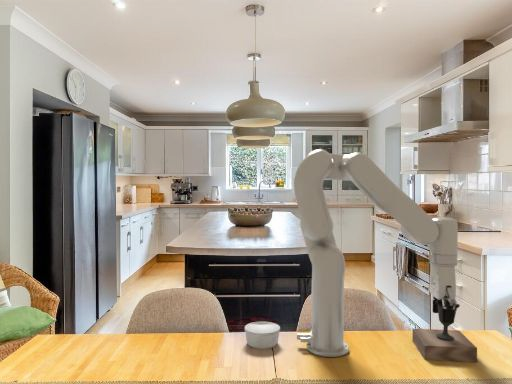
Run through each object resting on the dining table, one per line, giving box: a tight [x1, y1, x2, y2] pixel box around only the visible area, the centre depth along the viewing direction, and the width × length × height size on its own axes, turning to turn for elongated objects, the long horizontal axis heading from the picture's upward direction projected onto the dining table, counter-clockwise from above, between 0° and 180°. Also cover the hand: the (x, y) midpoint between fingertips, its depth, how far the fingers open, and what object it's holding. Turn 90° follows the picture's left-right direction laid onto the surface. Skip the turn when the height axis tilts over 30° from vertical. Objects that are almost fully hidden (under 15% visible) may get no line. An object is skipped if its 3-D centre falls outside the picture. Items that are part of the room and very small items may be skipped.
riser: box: [411, 328, 478, 363], centre depth 123 cm, size 14×14×4 cm
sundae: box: [435, 297, 461, 340], centre depth 123 cm, size 7×7×15 cm
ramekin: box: [244, 321, 281, 350], centre depth 129 cm, size 11×11×5 cm
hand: (442, 317), depth 123 cm, fingers open, 8 cm apart
